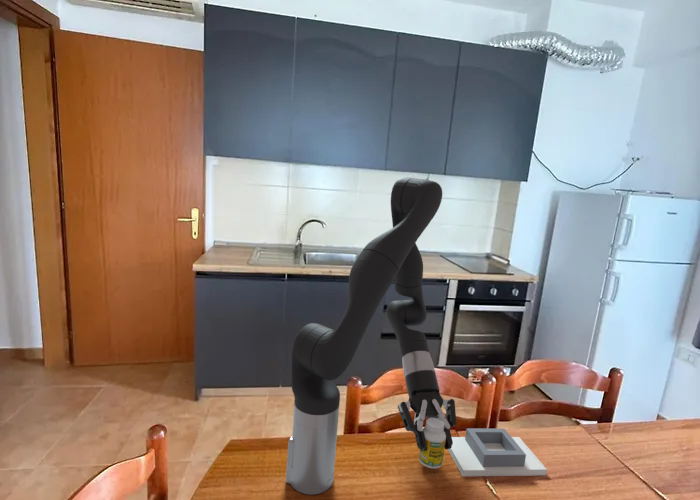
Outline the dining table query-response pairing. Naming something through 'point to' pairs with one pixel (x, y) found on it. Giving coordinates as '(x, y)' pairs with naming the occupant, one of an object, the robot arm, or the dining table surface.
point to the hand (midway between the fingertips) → (436, 449)
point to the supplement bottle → (433, 443)
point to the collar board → (494, 454)
